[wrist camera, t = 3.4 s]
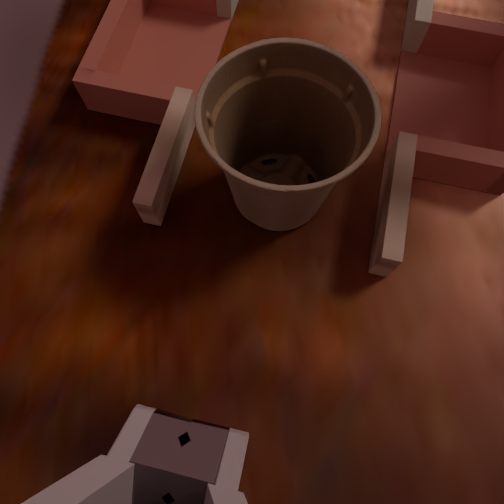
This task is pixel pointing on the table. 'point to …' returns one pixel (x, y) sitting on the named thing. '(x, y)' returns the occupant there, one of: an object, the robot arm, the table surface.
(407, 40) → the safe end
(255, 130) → the flower pot
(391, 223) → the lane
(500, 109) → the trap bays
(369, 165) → the table surface
